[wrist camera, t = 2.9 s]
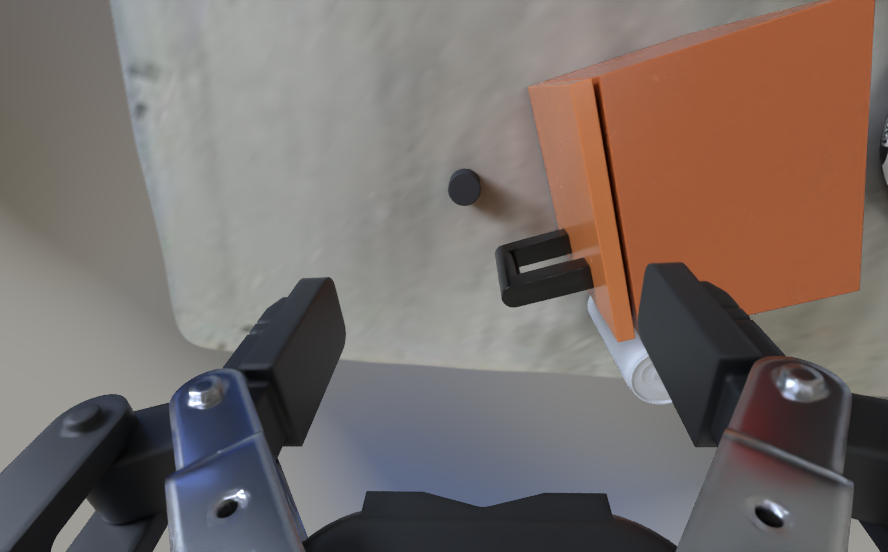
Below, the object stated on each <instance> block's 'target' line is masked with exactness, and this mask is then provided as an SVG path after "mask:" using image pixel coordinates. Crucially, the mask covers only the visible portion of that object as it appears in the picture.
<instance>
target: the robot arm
mask: <svg viewBox="0 0 888 552" xmlns="http://www.w3.org/2000/svg"><path fill="white" fill-rule="evenodd" d="M638 331H639V336H640V339H641V341H642V343H643V345H644V347H645V349H646V351H647V353H648V355H649V357H650V359H651V361H652V363H653V365H654V367H655V369H656V371H657V373H658V375H659V377H660V379H661V381H662V383H663V385H664V387H665V389H666V391H667V393H668V395H669V396H670V398H671V400H672V402H673V404H674V406H675V408H676V410H677V412H678V414H679V416H680V418H681V420H682V422H683V424H684V426H685V428H686V430H687V432H688V434H689V436H690V437H691V440H692V442H693V444H694V446H695V447H718V448H717V450H716V453H715V455H714V458H713V460H712V463H711V466H710V468H709V470H708V473H707V475H706V478H705V480H704V483H703V485H702V488H701V490H700V492H699V495H698V498H697V500H696V502H695V505H694V507H693V510H692V512H691V515H690V517H689V520H688V522H687V525H686V527H685V530H684V532H683V535H682V537H681V540H680V542H679V545H678V547H677V546H676V545H674V544H673V543H672V542H670V541H669V540H667V539H666V538H664V537H663V536H661V535H659V534H658V533H656V532H654V531H653V530H651V529H649V528H647V527H645V526H643V525H641V524H638V523H636V522H634V521H631V520H628V519H626V518H623V517H620V516H616V515H613V514H612V513H611V509H610V505H609V502H608V498H607V494H602V493H601V494H600V493H543V494H539V495H535V496H530V497H526V498H522V499H518V500H514V501H510V502H505V503H501V504H497V505H493V506H488V507H478V506H473V505H470V504H467V503H463V502H459V501H455V500H451V499H447V498H444V497H440V496H437V495H433V494H429V493H425V492H390V491H389V492H388V491H367V492H366V496H365V500H364V504H363V508H362V511H360V512H356V513H353V514H350V515H348V516H345V517H342V518H340V519H338V520H336V521H334V522H332V523H330V524H328V525H326V526H325V527H323V528H322V529H320V530H318V531H317V532H315V533H314V534H312V535H311V536H310V537H309V538H308V536H307V534H306V531H305V529H304V526H303V524H302V521H301V518H300V516H299V513H298V510H297V508H296V505H295V502H294V500H293V497H292V494H291V492H290V489H289V486H288V484H287V481H286V478H285V476H284V473H283V470H282V468H281V465H280V463H279V460H278V458H277V457H278V455H279V453H280V451H281V448H282V447H283V446H302V445H303V443H304V440H305V438H306V436H307V433H308V431H309V428H310V426H311V424H312V421H313V419H314V417H315V414H316V412H317V410H318V407H319V405H320V402H321V400H322V398H323V396H324V393H325V391H326V388H327V386H328V384H329V381H330V379H331V377H332V374H333V372H334V369H335V367H336V365H337V363H338V360H339V358H340V355H341V353H342V351H343V348H344V345H345V337H346V331H345V324H344V320H343V316H342V312H341V308H340V304H339V300H338V296H337V292H336V288H335V284H334V282H333V280H332V279H331V278H330V277H324V278H303V279H301V280H300V281H299V282H298V283H297V285H296V286H295V288H294V289H293V290H292V292H291V293H290V295H289V296H288V297H283V298H281V299H280V300H279V301H277V302H276V303H274V304H273V305H272V306H270V307H269V308H267V310H266V311H265V312H264V314H263V315H262V316H261V318H260V319H259V320H258V324H255V326H254V327H253V328H252V330H251V331H250V335H247V336H246V337H245V339H244V340H243V341H242V343H241V344H240V345H239V347H238V348H237V349H236V351H235V352H234V353H233V355H232V356H231V357H230V359H229V360H228V362H227V363H226V364H225V365H224V367H223V368H222V369H216V370H212V371H208V372H205V373H203V374H200V375H198V376H196V377H194V378H193V379H191V380H190V381H188V382H187V383H185V384H184V385H183V386H181V387H180V388H179V389H178V390H177V391H176V393H175V394H174V395H173V396H172V398H171V400H170V403H166V404H162V405H158V406H154V407H150V408H146V409H142V410H138V411H133V410H132V408H131V406H130V405H129V403H128V401H127V400H126V398H124V397H123V396H121V395H116V394H115V395H114V394H109V395H103V396H98V397H95V398H92V399H89V400H86V401H84V402H82V403H80V404H78V405H76V406H74V407H72V408H70V409H69V410H67V411H66V412H64V413H63V414H61V415H60V416H59V417H57V418H56V419H55V420H54V421H53V422H52V423H51V424H50V425H49V426H48V427H47V428H46V429H45V430H44V431H43V432H42V433H41V434H40V435H39V436H38V437H37V438H36V439H35V440H34V441H33V442H32V443H31V444H30V445H29V446H28V447H26V449H25V450H23V451H22V452H21V453H20V454H19V455H18V456H17V458H15V460H13V462H11V463H10V464H9V465H8V466H7V467H6V468H5V469H4V470H3V471H2V472H1V474H0V552H51V548H52V545H53V542H54V540H55V538H56V536H57V535H58V533H59V532H60V530H61V529H62V528H63V527H64V525H65V524H66V523H67V521H68V520H69V519H70V518H71V516H72V515H73V514H74V512H75V511H76V510H77V509H78V507H79V506H80V505H81V503H82V502H83V501H84V499H85V498H86V499H87V500H88V501H89V502H90V504H91V505H92V506H93V507H94V509H95V510H96V511H95V513H94V514H93V515H92V517H91V518H90V519H89V521H88V522H87V523H86V525H85V526H84V527H83V529H82V530H81V532H80V533H79V534H78V536H77V537H76V538H75V540H74V541H73V543H72V544H71V545H70V547H69V548H68V549H67V551H66V552H153V550H154V548H155V546H156V545H157V543H158V541H159V539H160V538H161V536H162V534H163V532H164V531H165V529H166V527H167V525H168V527H169V539H170V551H171V552H848V541H849V533H850V523H851V518H853V519H857V520H859V522H860V523H861V524H862V526H863V527H864V529H865V530H866V532H867V533H868V534H869V536H870V537H871V539H872V540H873V542H874V543H875V545H876V546H877V547H878V549H879V550H880V552H888V400H886V399H880V398H875V397H869V396H864V395H858V394H854V393H851V391H850V389H849V388H848V386H847V385H846V384H845V383H844V382H843V381H842V380H841V379H840V378H839V377H838V376H836V375H835V374H833V373H832V372H830V371H829V370H827V369H825V368H823V367H821V366H819V365H816V364H814V363H811V362H808V361H806V360H802V359H798V358H793V357H787V356H785V355H784V353H783V352H782V351H781V350H780V349H779V348H778V347H777V346H776V345H775V344H774V343H773V342H772V340H771V339H770V338H769V337H768V336H767V335H766V334H765V333H764V332H763V331H762V330H761V328H760V327H759V326H758V325H757V324H756V323H755V322H754V321H753V320H750V317H749V315H748V314H747V313H746V312H745V311H744V310H743V309H742V308H739V305H738V304H737V302H736V301H735V300H734V299H733V298H732V297H731V296H730V295H729V294H728V293H727V292H726V291H724V290H722V289H721V288H719V287H717V286H715V285H713V284H712V283H710V282H708V281H699V280H698V279H697V278H696V276H695V275H694V274H693V273H692V272H691V271H690V269H689V268H688V267H687V266H686V265H685V264H684V263H683V262H669V263H650V264H648V265H647V267H646V269H645V273H644V279H643V286H642V292H641V299H640V305H639V312H638Z"/></svg>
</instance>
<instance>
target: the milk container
mask: <svg viewBox="0 0 888 552" xmlns="http://www.w3.org/2000/svg"><path fill="white" fill-rule="evenodd" d="M880 161H881V166H882V171H883V176H884V179H885V182H886V184H887V185H888V112H887V116H886V119H885V122H884V127H883V132H882V136H881V141H880Z"/></svg>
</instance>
